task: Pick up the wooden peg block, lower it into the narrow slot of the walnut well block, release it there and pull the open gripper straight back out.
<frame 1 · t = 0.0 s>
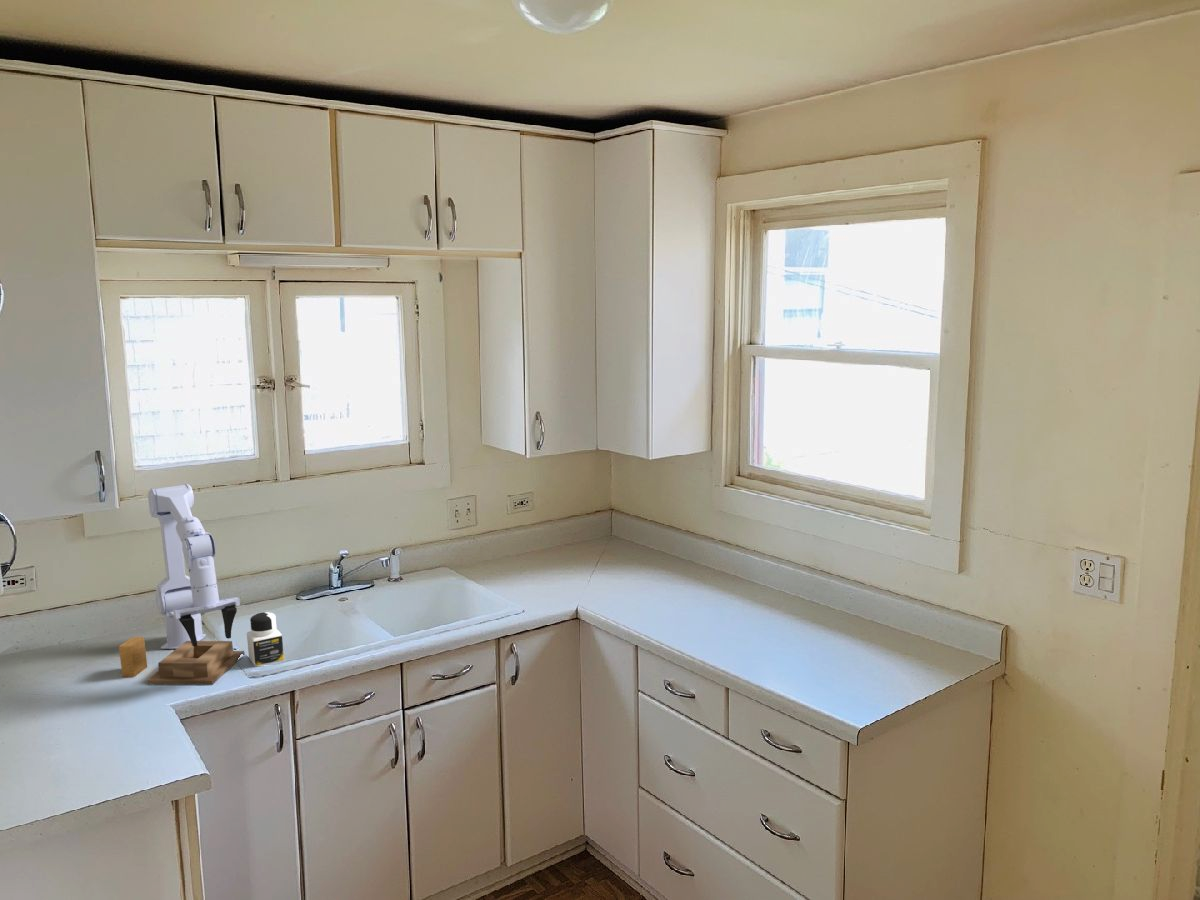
hand: (211, 641, 217), 11 cm above the worktop, tool pointing down, fingers open, 7 cm apart
well board: (197, 668, 228), on the worktop
medicine bottle: (266, 660, 233), on the worktop
wooden peg block: (135, 672, 226), on the worktop
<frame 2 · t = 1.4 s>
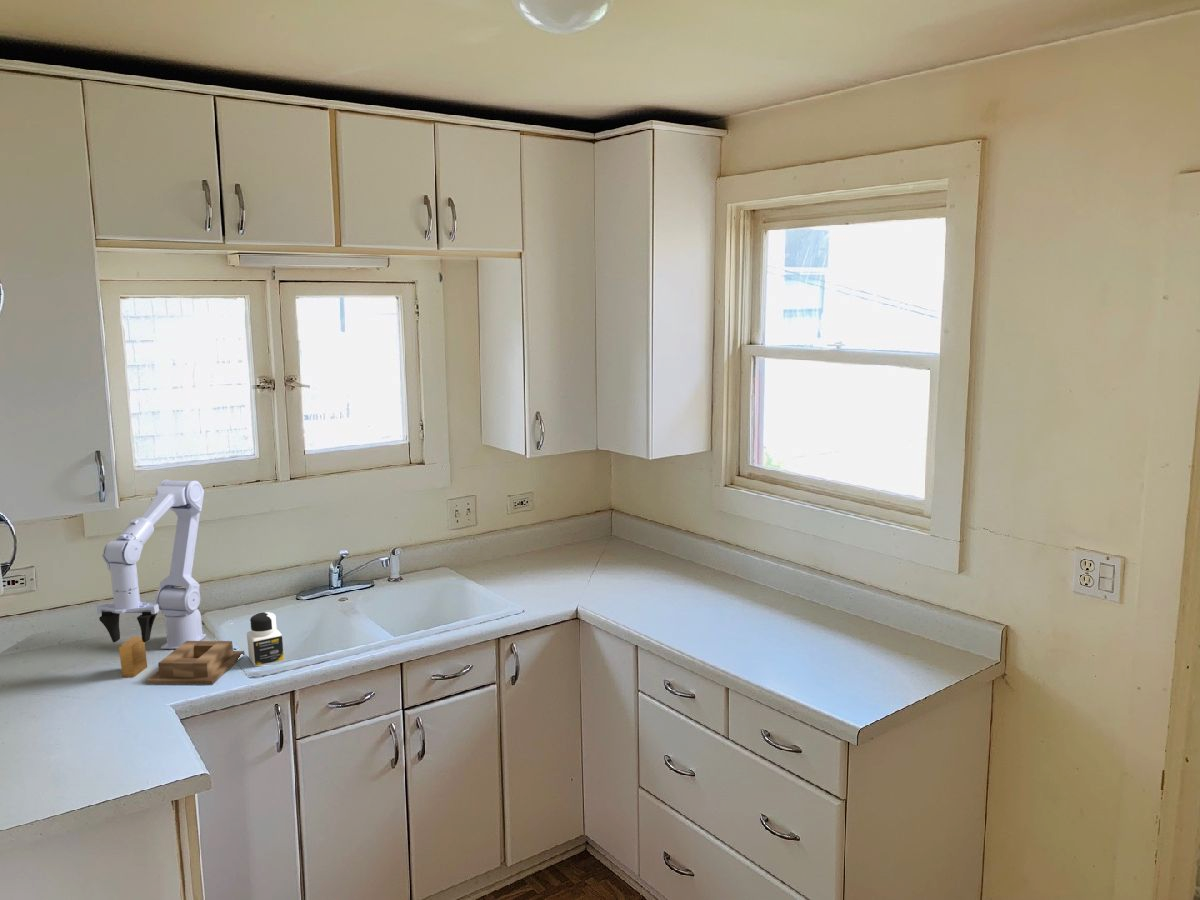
hand: (131, 640, 225), 8 cm above the worktop, tool pointing down, fingers open, 7 cm apart
nothing on the worktop moved.
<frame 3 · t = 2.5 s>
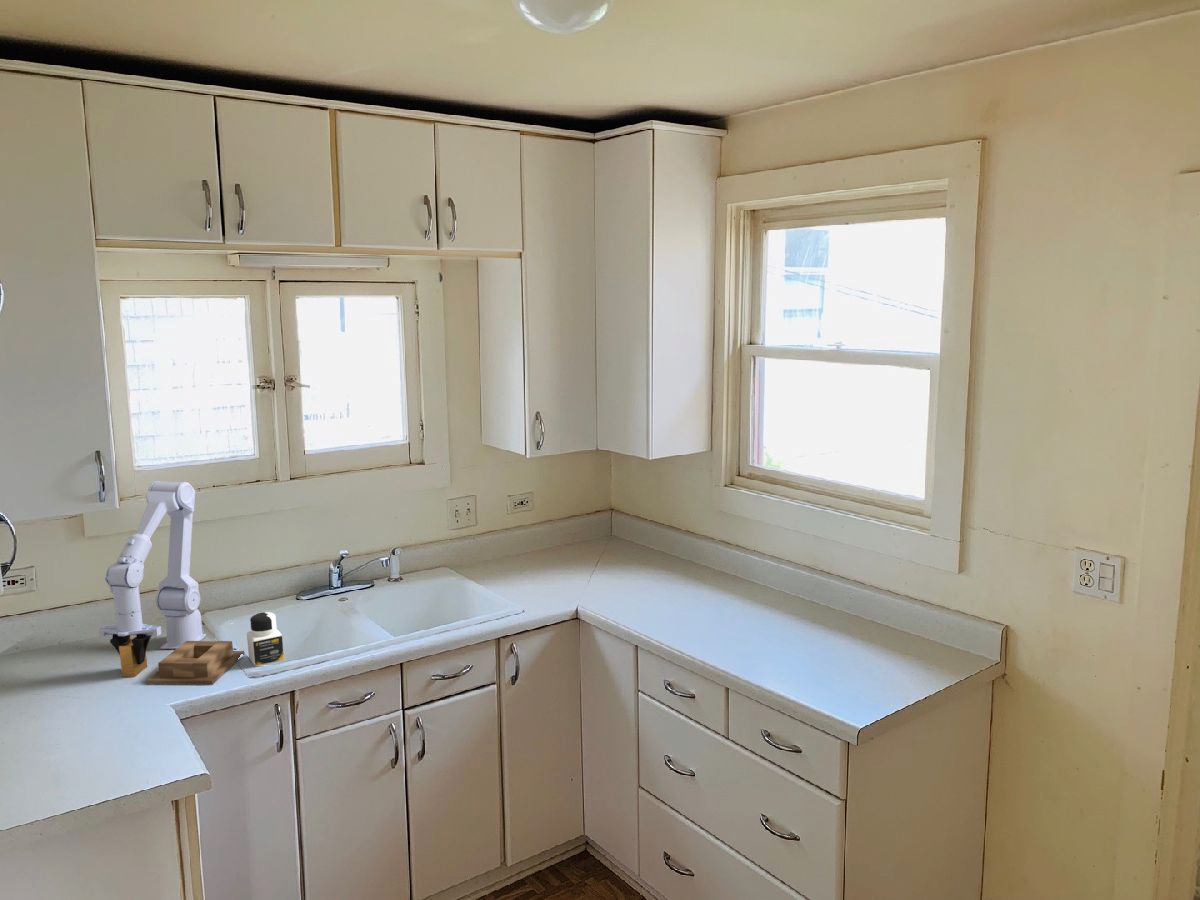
hand: (134, 662, 226), 2 cm above the worktop, tool pointing down, fingers closed on wooden peg block, 3 cm apart
wooden peg block: (135, 671, 226), on the worktop, touching gripper
everything else where it was.
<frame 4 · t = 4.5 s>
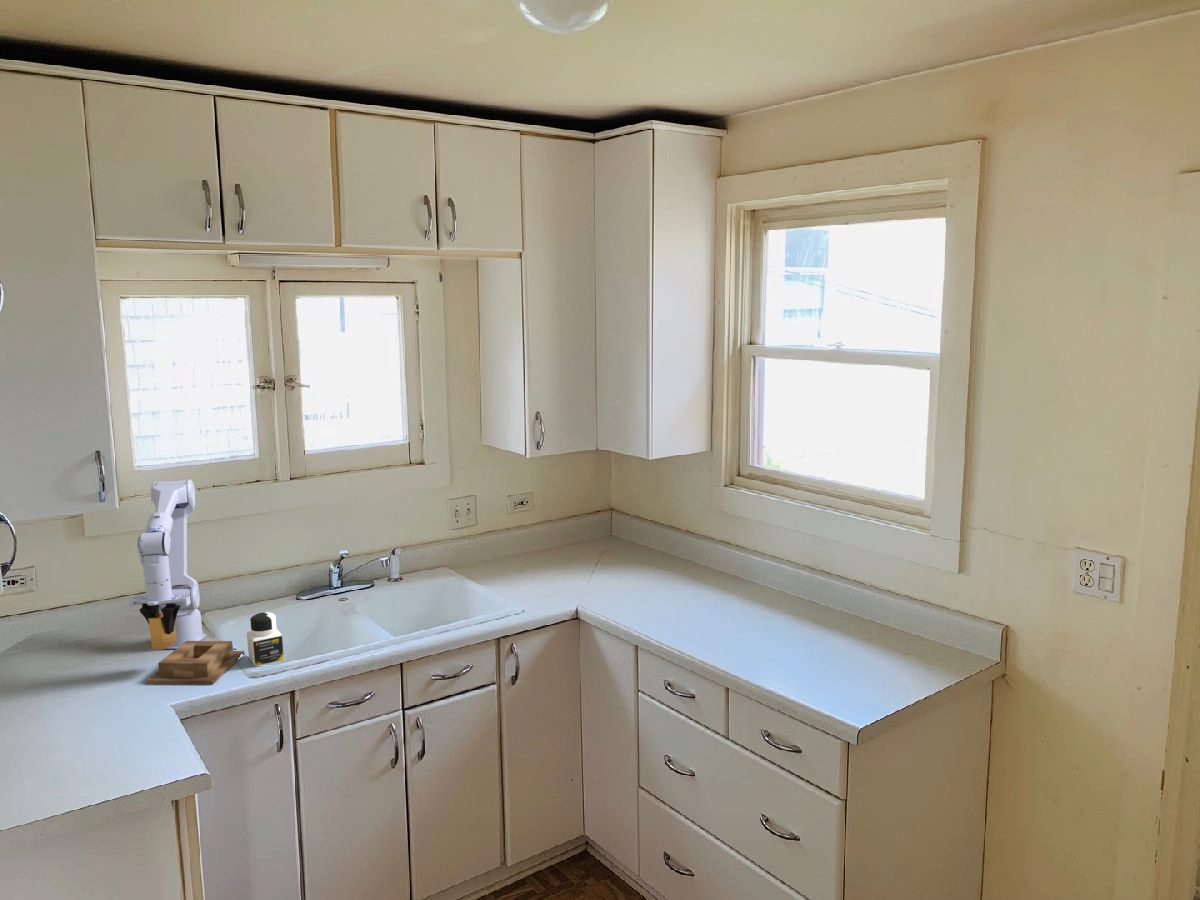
hand: (163, 632, 225), 10 cm above the worktop, tool pointing down, fingers closed on wooden peg block, 3 cm apart
wooden peg block: (164, 644, 226), point 7 cm above the worktop, touching gripper
everything else where it was.
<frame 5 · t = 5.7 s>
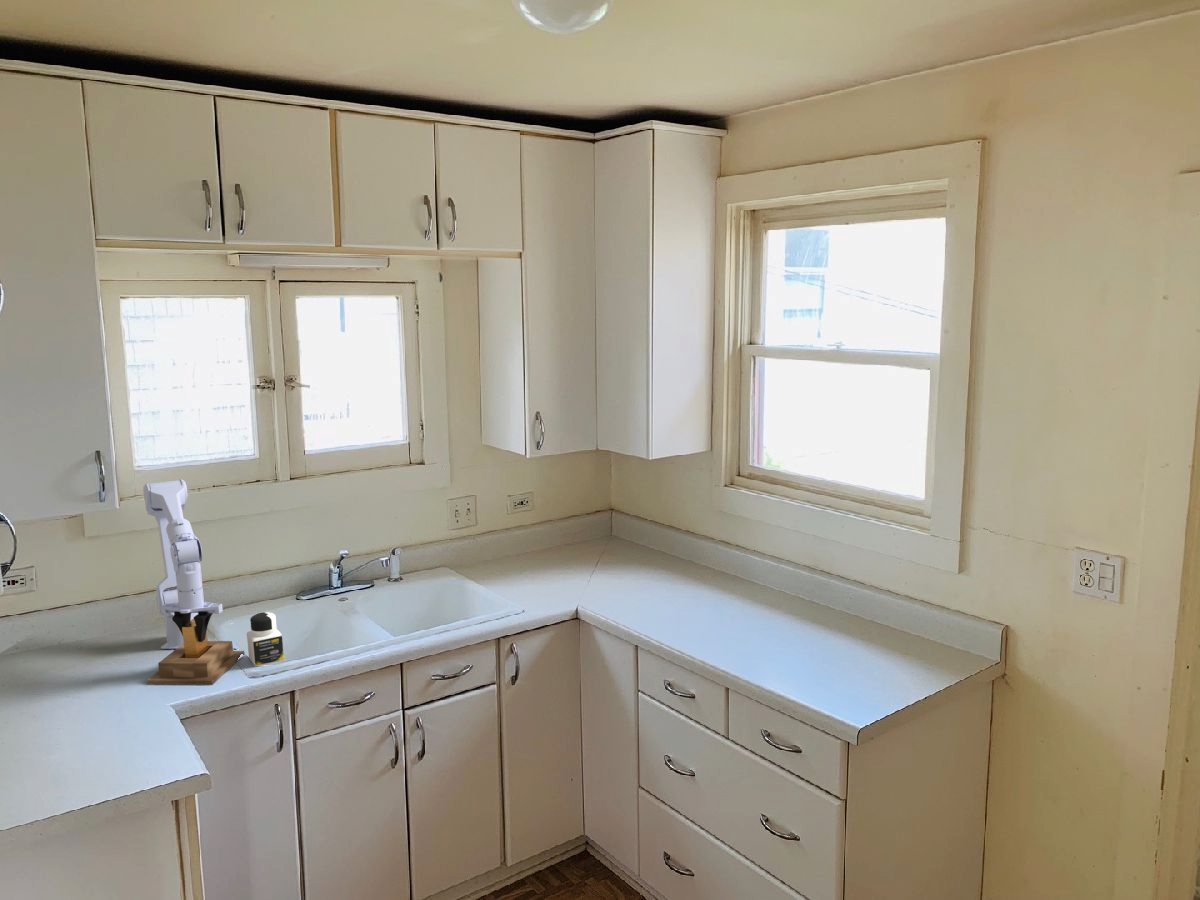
hand: (195, 640, 226), 7 cm above the worktop, tool pointing down, fingers closed on wooden peg block, 3 cm apart
wooden peg block: (197, 653, 227), point 4 cm above the worktop, touching gripper
everything else where it was.
when the fingers open (5 cm above the worktop, at t = 6.5 s): wooden peg block stays where it is, resting on well board.
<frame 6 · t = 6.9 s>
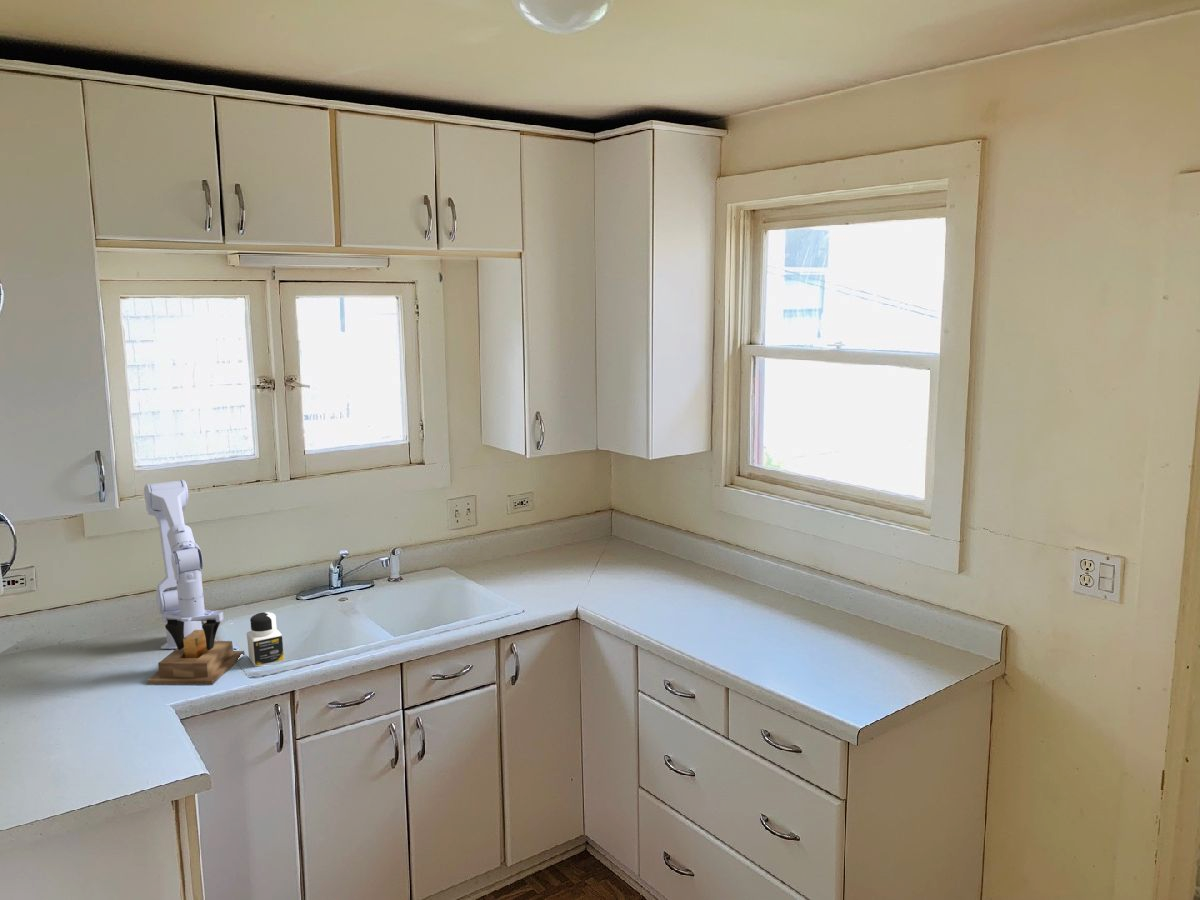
hand: (195, 648, 227), 5 cm above the worktop, tool pointing down, fingers open, 7 cm apart
wooden peg block: (198, 664, 228), point 1 cm above the worktop, touching well board
everything else where it was.
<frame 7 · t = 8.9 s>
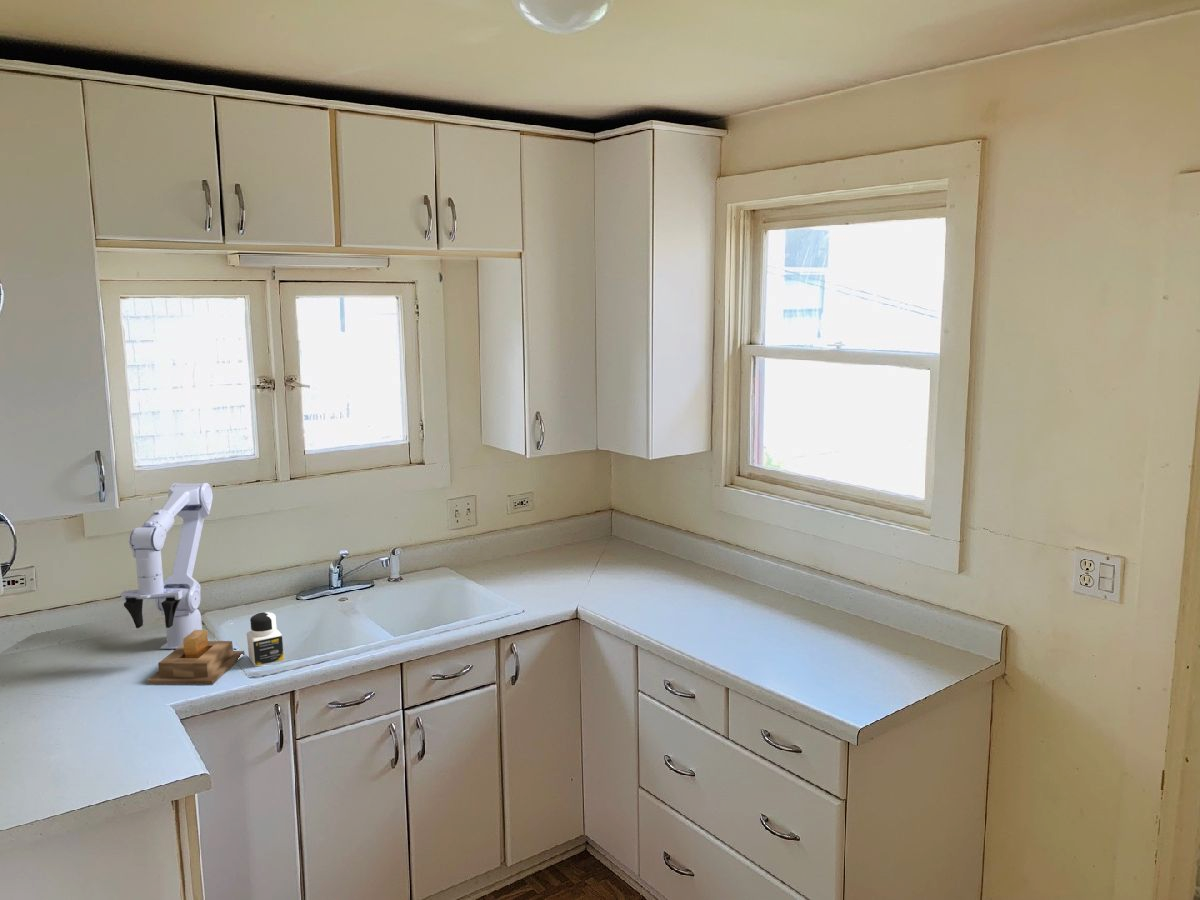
hand: (154, 626, 229), 10 cm above the worktop, tool pointing down, fingers open, 7 cm apart
nothing on the worktop moved.
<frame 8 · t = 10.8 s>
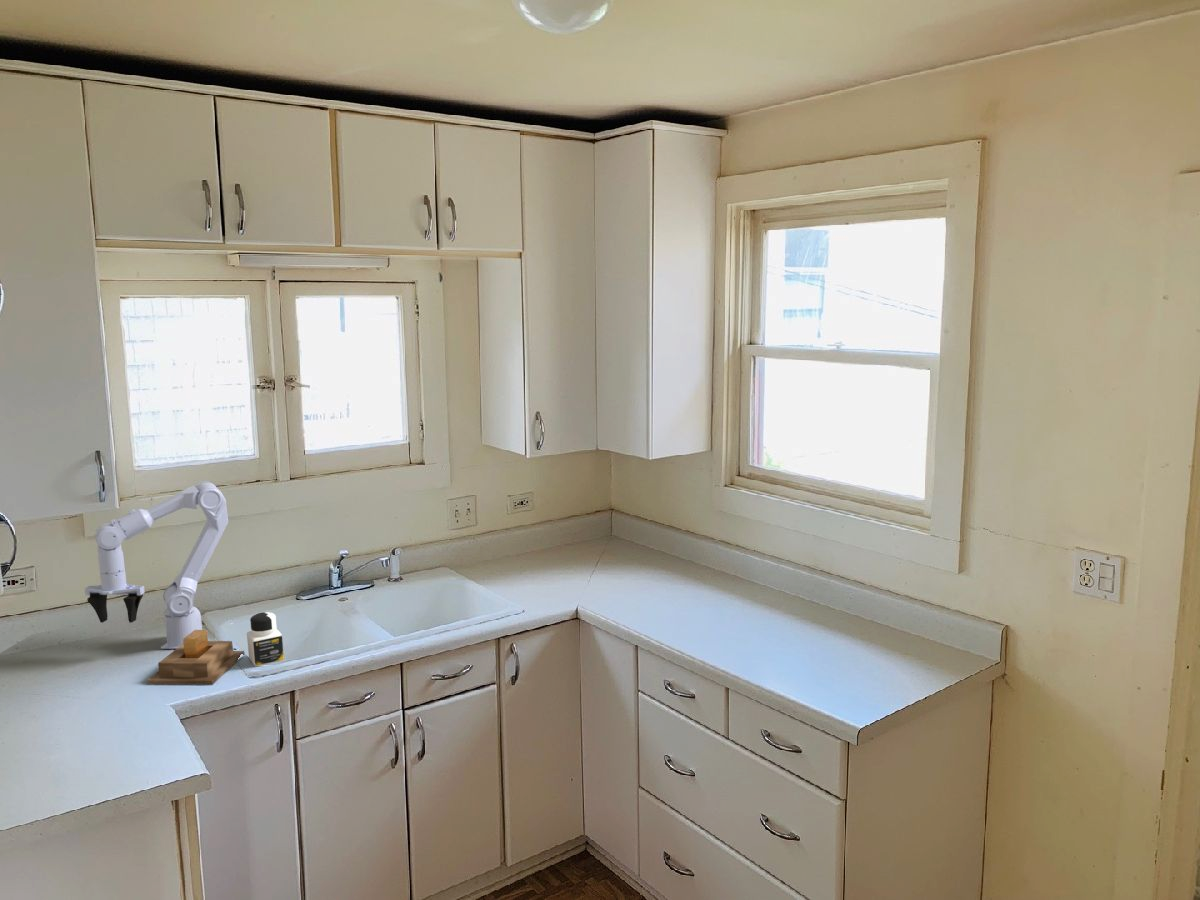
hand: (118, 621, 235), 9 cm above the worktop, tool pointing down, fingers open, 7 cm apart
nothing on the worktop moved.
at the end: wooden peg block 0.3 cm off-centre on the well board, point 1.0 cm above the well board's base; wooden peg block tilted 0°; the gripper is holding nothing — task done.
